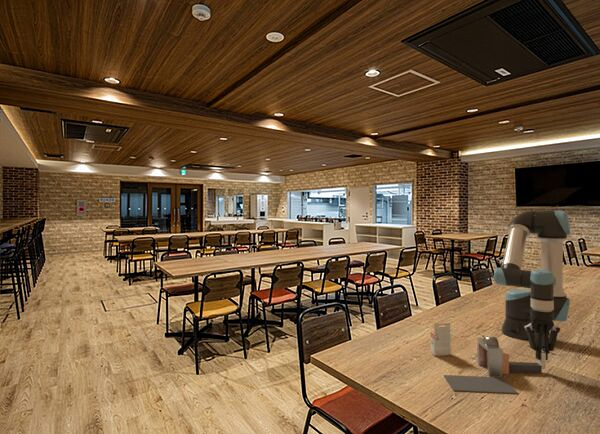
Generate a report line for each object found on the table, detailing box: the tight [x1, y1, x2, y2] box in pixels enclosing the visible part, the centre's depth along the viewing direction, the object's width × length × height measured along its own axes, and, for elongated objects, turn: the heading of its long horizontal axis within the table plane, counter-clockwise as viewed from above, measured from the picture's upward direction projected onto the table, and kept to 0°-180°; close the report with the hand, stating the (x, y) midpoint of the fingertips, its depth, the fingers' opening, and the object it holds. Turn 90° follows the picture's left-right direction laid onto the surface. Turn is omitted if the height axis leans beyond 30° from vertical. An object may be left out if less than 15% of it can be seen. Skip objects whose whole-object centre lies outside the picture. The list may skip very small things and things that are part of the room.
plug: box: [503, 349, 543, 375], centre depth 135 cm, size 19×5×8 cm, turn 85°
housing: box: [476, 336, 504, 378], centre depth 136 cm, size 5×11×14 cm, turn 174°
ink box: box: [430, 322, 452, 357], centre depth 151 cm, size 4×8×15 cm, turn 96°
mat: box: [443, 374, 519, 395], centre depth 125 cm, size 22×11×1 cm, turn 84°
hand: (541, 367), depth 134 cm, fingers closed
